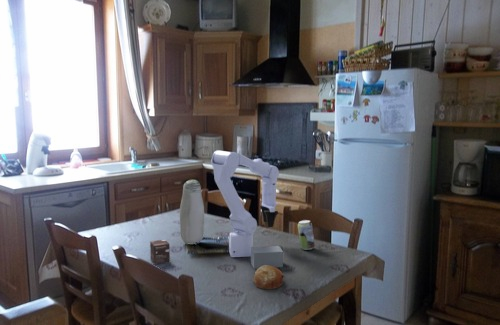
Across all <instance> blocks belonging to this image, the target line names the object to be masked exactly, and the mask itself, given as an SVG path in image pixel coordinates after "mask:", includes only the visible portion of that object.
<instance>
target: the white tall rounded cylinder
mask: <svg viewBox="0 0 500 325" xmlns="http://www.w3.org/2000/svg"><path fill="white" fill-rule="evenodd" d="M202 194H203V193H202V186H201V183H200V182H199V181H198V180H197V179H189V180H187V181H186V182H184V184H183V188H182V196H181V199H180V206H179V224H180V226H179V227H180V230H179V231H180V238H181V240H182V241H183V243H184V244H186V245H188V244H187V243H195V242H198V241H200V240H201V241H202V240H203V238H204V234H205V204H204V200H203V196H202ZM201 241H200V242H201Z"/></svg>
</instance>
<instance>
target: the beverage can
mask: <svg viewBox="0 0 500 325" xmlns="http://www.w3.org/2000/svg"><path fill="white" fill-rule="evenodd" d="M297 231H298V239H299V247H300V248H301V249H302V250H303V251H304V250H305V251H307V250H309V251H310V250H312V249H314V247H315V237H314V229H313V223H312V222H311V220H308V219H303V220H300V221H298V224H297Z"/></svg>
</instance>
